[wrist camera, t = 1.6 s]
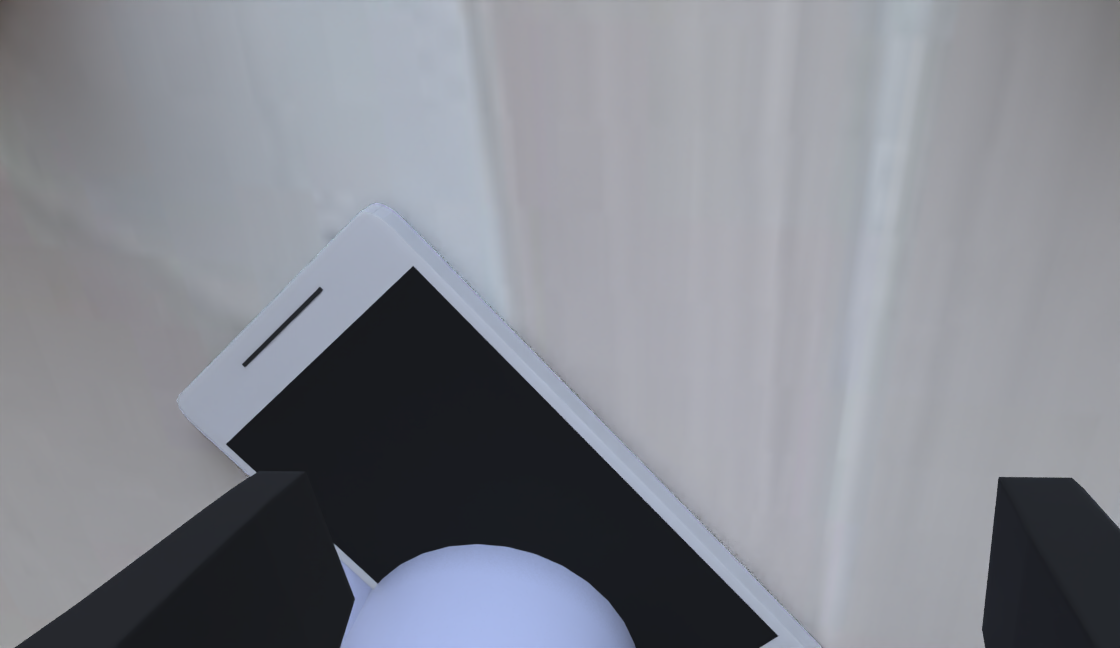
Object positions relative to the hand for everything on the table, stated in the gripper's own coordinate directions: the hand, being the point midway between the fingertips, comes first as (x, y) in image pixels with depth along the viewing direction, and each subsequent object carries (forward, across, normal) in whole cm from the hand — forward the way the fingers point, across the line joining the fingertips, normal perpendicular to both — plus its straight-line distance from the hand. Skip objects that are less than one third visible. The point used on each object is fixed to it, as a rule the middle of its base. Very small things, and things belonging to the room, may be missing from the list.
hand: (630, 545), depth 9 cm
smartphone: (+9, +5, +8) cm, 13 cm away
